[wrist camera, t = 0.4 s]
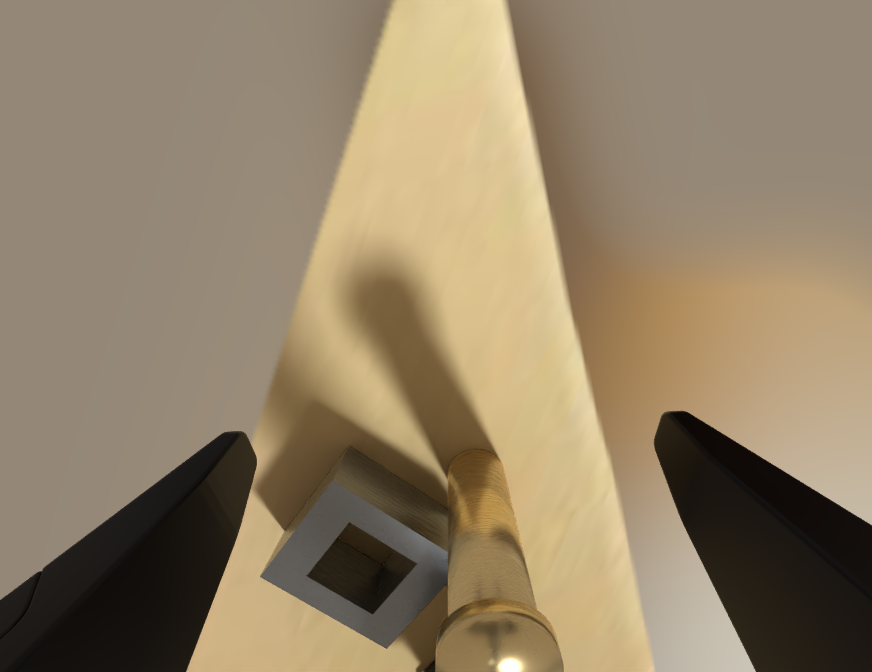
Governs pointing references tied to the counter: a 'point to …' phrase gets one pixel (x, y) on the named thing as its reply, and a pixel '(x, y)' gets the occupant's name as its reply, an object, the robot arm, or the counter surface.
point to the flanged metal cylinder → (489, 579)
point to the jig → (353, 571)
